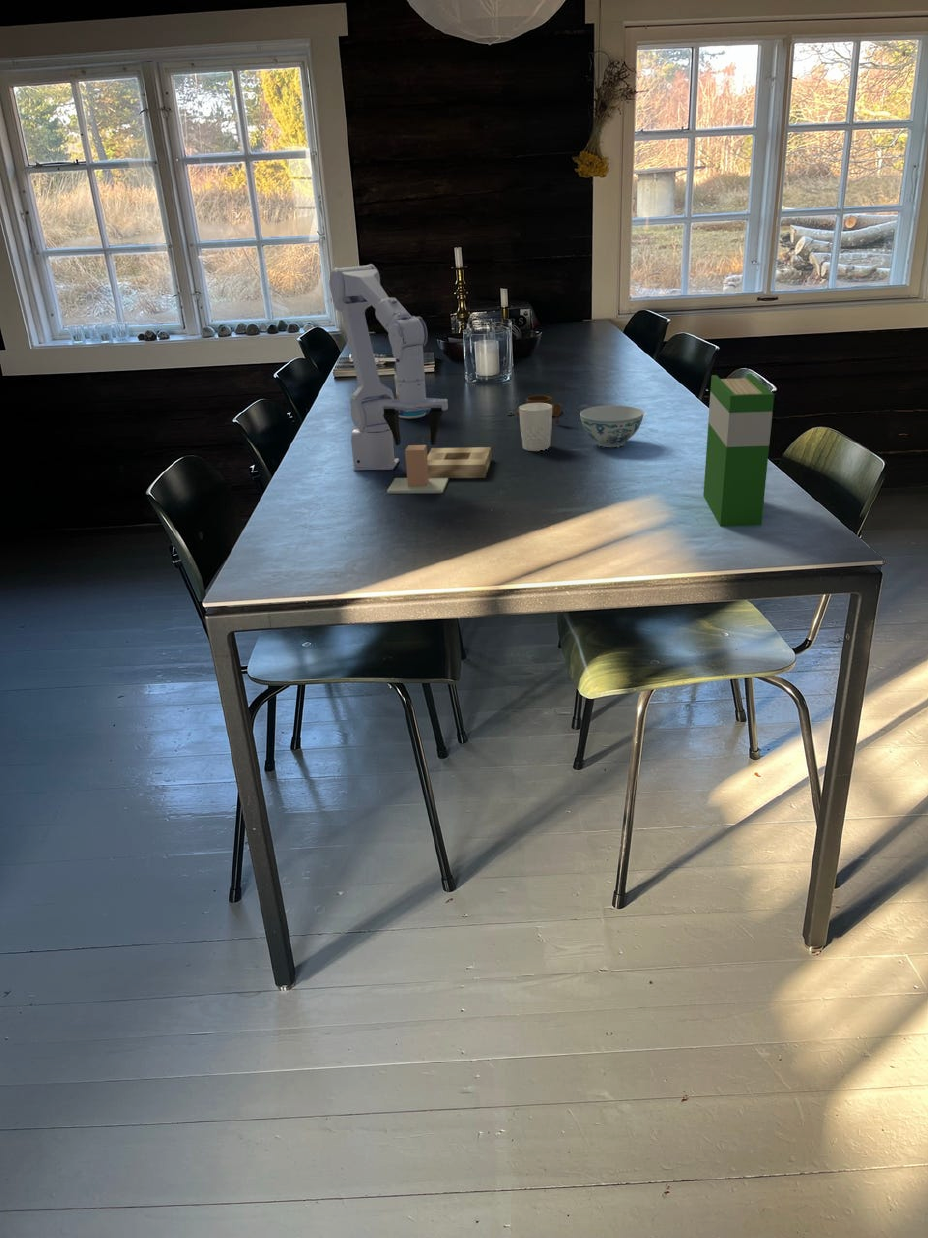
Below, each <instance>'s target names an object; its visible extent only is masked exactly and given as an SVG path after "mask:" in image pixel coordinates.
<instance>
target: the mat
mask: <svg viewBox="0 0 928 1238" xmlns="http://www.w3.org/2000/svg"><path fill="white" fill-rule="evenodd" d="M448 482H449V478H429V482H428V484H427V486H412V487H408V482H407V477H395V478H393V481H392V482H391V484H390V486H389V487H388V488H387V490H386V492H387V494H443V493H444V491H445V489H446V486H447V484H448Z"/></svg>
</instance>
